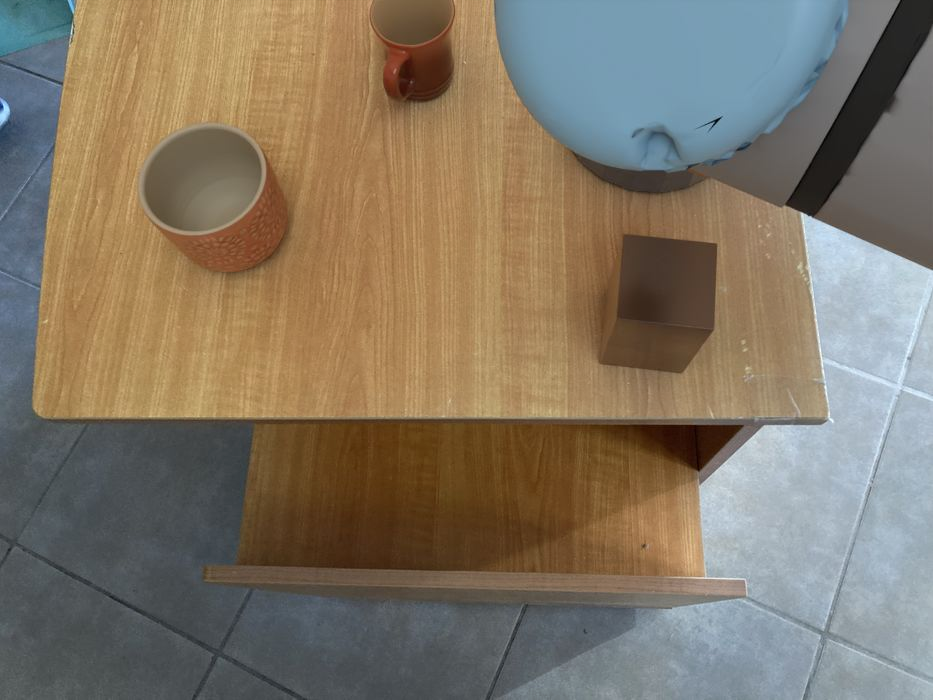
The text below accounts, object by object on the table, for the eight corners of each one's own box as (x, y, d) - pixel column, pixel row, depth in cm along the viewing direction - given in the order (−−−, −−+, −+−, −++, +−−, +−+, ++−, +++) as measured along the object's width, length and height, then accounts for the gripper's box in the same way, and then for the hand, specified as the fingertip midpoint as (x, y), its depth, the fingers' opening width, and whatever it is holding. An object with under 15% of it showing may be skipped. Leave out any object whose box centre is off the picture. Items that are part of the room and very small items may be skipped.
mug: (399, 39, 89) (387, -31, 79) (471, 57, 88) (466, -12, 78) (362, 123, 86) (344, 60, 76) (435, 143, 84) (427, 81, 75)
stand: (686, 298, 77) (717, 243, 66) (682, 373, 74) (714, 329, 63) (605, 289, 78) (623, 233, 66) (599, 363, 75) (616, 318, 64)
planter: (172, 282, 80) (122, 233, 70) (194, 179, 84) (150, 118, 74) (288, 288, 79) (256, 239, 69) (305, 183, 83) (276, 122, 73)
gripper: (507, 30, 32) (634, 37, 52) (876, 204, 28) (860, 140, 48) (582, -174, 28) (688, -83, 48) (1016, -3, 25) (937, 19, 45)
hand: (774, 29), depth 48 cm, fingers closed on pestle, 3 cm apart
